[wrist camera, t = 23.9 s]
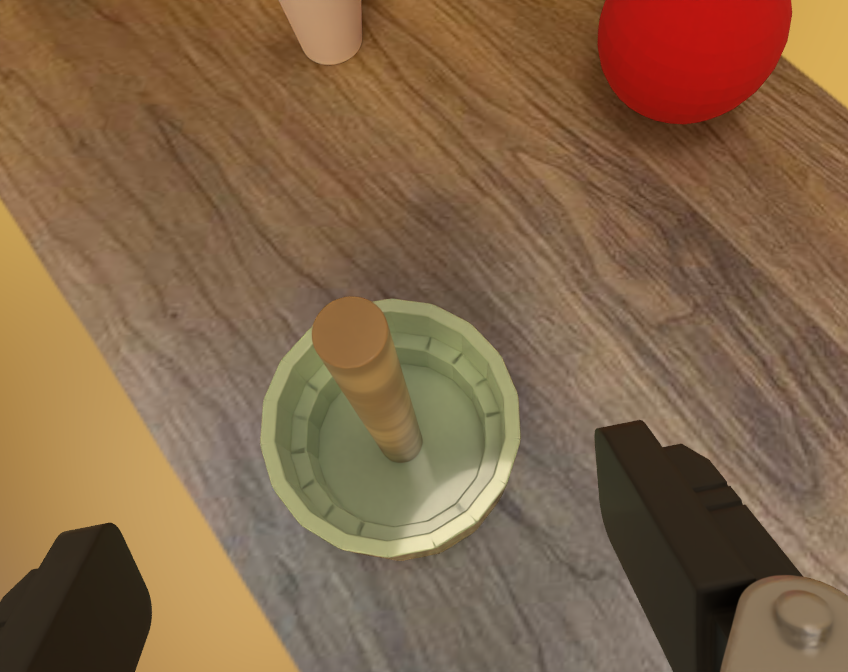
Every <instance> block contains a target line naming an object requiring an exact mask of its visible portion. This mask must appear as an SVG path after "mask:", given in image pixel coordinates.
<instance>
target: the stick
mask: <svg viewBox="0 0 848 672" xmlns="http://www.w3.org/2000/svg"><path fill="white" fill-rule="evenodd" d="M312 342H313V346H314V348H315V350H316V352H317V354H318V355H319V357H320V358H321V360H322V361H323V363H324V364H325V366H326V368H327V369H328V371H329V372H330V374H331V375H332V377H333V378H334V380H335V381H336V383H337V384H338V386H339V387H340V389H341V390H342V392H343V393H344V395H345V396H346V398H347V399H348V401H349V402H350V404H351V405H352V407H353V409H354V410H355V412H356V413H357V415H358V416H359V418H360V419H361V421H362V422H363V424H364V425H365V427H366V428H367V430H368V431H369V433H370V434H371V436H372V437H373V439H374V440H375V442H376V443H377V445H378V446H379V448H380V450H381V451H382V453H383V454H384V455H385V456H386V457H387V458H388V459H389V460H391V461H393V462H397V463H404V462H408V461H410V460H412V459H414V458H415V457H416V456H417V455H418V453H419V452H420V450H421V447H422V441H423V440H422V434H421V431H420V428H419V425H418V421H417V418H416V415H415V411H414V408H413V405H412V402H411V398H410V395H409V392H408V388H407V385H406V382H405V379H404V375H403V372H402V369H401V366H400V362H399V359H398V356H397V352H396V349H395V346H394V343H393V339H392V336H391V333H390V329H389V326H388V323H387V320H386V317H385V315H384V313H383V312H382V311H381V309H380V308H379V307H378V306H377V305H376V304H374V303H373V302H371V301H369V300H367V299H365V298H361V297H343V298H339V299H337V300H334V301H332V302H331V303H329V304H328V305H326V306H325V307H324V308H323V309H322V310H321V311H320V312H319V314H318V315H317V317H316V319H315V321H314V324H313V327H312Z"/></svg>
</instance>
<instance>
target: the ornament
mask: <svg viewBox="0 0 848 672" xmlns="http://www.w3.org/2000/svg"><path fill="white" fill-rule="evenodd" d="M791 17H792V6H791V0H606V1H605V3H604V6H603V9H602V13H601V16H600V19H599V29H598V51H599V57H600V62H601V67H602V70H603V73H604V75H605V77H606V79H607V81H608V83H609V85H610V86H611V88H612V90H613V91H614V92H615V94H616V95H617V96H618V98H619V99H620V100H621V101H622V102H624V103H625V104H626V105H627V106H628V107H629V108H631V109H632V110H634V111H636V112H637V113H639V114H641V115H643V116H645V117H648V118H650V119H653V120H656V121H661V122H665V123H673V124H689V123H698V122H702V121H705V120H709V119H712V118H715V117H717V116H720V115H722V114H724V113H726V112H728V111H730V110H732V109H734V108H736V107H737V106H738V105H739V104H741V103H742V102H743V101H745V100H746V99H747V98H749V97H750V96H751V95H752V94H754V93H755V92H756V91H757V90H758V89H759V88H760V86H761V85H762V84H763V83H764V82H765V80H766V79H767V78H768V77H769V75H770V74H771V73H772V71H773V70H774V69H775V67H776V65H777V63H778V61H779V59H780V56H781V54H782V52H783V50H784V47H785V45H786V43H787V39H788V34H789V29H790V23H791Z"/></svg>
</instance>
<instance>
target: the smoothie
mask: <svg viewBox="0 0 848 672" xmlns="http://www.w3.org/2000/svg"><path fill="white" fill-rule="evenodd" d="M279 2H280V4H281V6H282V8H283V10H284V12H285V14H286V16H287V18H288V20H289V22H290V25H291V27H292V29H293V31H294V33H295V35H296V37H297V39H298V41H299V43H300V45H301V47H302V49H303V51H304V53H305V54H306V56H307V57H308V58H310V59H311V60H312V61H314V62H317V63H320V64H325V65H333V64H338V63H342V62H344V61H346V60H348V59H350V58H351V57H353V56H354V55H355V54H356V53H357V51H358V50H359V48H360V46H361V43H362V11H361V0H279Z"/></svg>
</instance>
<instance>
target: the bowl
mask: <svg viewBox="0 0 848 672" xmlns="http://www.w3.org/2000/svg"><path fill="white" fill-rule="evenodd" d="M373 303H374V304H376V305H377V306H378V307H379V308H380V309H381V311H382V312H383V313H384V315H385V317H386V320H387V323H388V326H389V329H390V333H391V336H392V339H393V343H394V346H395V349H396V352H397V356H398V359H399V362H400V366H401V369H402V372H403V375H404V379H405V382H406V385H407V388H408V392H409V395H410V398H411V402H412V405H413V408H414V411H415V415H416V418H417V421H418V425H419V428H420V431H421V434H422V440H423V441H422V447H421V450H420V452H419V453H418V455H417V456H416V457H415V458H414V459H412V460H410V461H408V462H404V463H397V462H393V461H391V460H389V459H388V458H387V457H386V456H385V455H384V454H383V453H382V451H381V450H380V448H379V446H378V445H377V443H376V442H375V440H374V439H373V437H372V436H371V434H370V433H369V431H368V430H367V428H366V427H365V425H364V424H363V422H362V421H361V419H360V418H359V416H358V415H357V413H356V412H355V410H354V409H353V407H352V405H351V404H350V402H349V401H348V399H347V398H346V396H345V395H344V393H343V392H342V390H341V389H340V387H339V386H338V384H337V383H336V381H335V380H334V378H333V377H332V375H331V374H330V372H329V371H328V369H327V368H326V366H325V364H324V363H323V361H322V360H321V358H320V357H319V355H318V354H317V352H316V350H315V348H314V346H313V342H312V327H313V326H312V327H311V328H310V329H309V330H308V331H307V332H306V333H305V334H304V335H303V336H302V338H301V339H300V340H299V341H298V342H297V343H296V344H295V345H294V346H293V347H292V348H291V350H290V351H289V352H288V353H287V354H286V355H285V356H284V357H283V358H282V360H281V361H280V363H279V366H278V368H277V370H276V373H275V375H274V377H273V379H272V382H271V384H270V386H269V388H268V391H267V393H266V395H265V398H264V401H263V411H262V425H261V438H260V444H261V450H262V453H263V457H264V460H265V464H266V467H267V471H268V474H269V478H270V481H271V485H272V487H273V489H274V491H275V492H276V494H277V495H278V496H279V497H280V499H281V500H282V501H283V503H284V504H285V505H286V507H287V508H288V509H289V511H290V512H291V513H292V515H293V516H294V517H295V519H296V520H297V521H298V523H299V524H301V526H303V527H304V528H306V529H308V530H309V531H311V532H313V533H314V534H316V535H317V536H319V537H321V538H322V539H324V540H326V541H327V542H329V543H330V544H332V545H334V546H335V547H337V548H339V549H342V550H345V551H349V552H354V553H358V554H362V555H368V556H373V557H379V558H385V559H390V560H396V561H404V560H410V559H415V558H420V557H425V556H430V555H435V554H440V552H444V551H445V550H447V549H448V548H450V547H452V546H453V545H455V544H456V543H458V542H460V541H461V540H463V539H465V538H466V537H468V536H469V535H471V534H473V533H474V532H475V531H476V530H477V529H478V528H479V527H480V525H481V524H482V523H483V521H484V520H485V519H486V517H487V516H488V515H489V514H490V512H491V511H492V510H493V508H494V507H495V506H496V504H497V503H498V502H499V500H500V498H501V497H502V494H503V492H504V490H505V487H506V485H507V483H508V480H509V476H510V473H511V470H512V467H513V463H514V460H515V457H516V454H517V451H518V447H519V444H520V439H521V435H520V417H519V399H518V393H517V391H516V388H515V386H514V384H513V382H512V379H511V377H510V375H509V372H508V370H507V368H506V365H505V363H504V361H503V359H502V356H501V355H500V353H499V352H498V351H497V350H496V349H495V348H494V347H493V346H492V345H491V344H490V343H489V342H488V341H487V340H486V339H485V338H484V336H483V335H482V334H481V333H480V332H479V331H478V330H477V329H476V328H475V327H474V326H473V325H472V324H470V323H469V322H467V321H465V320H463V319H461V318H459V317H457V316H455V315H453V314H451V313H449V312H447V311H445V310H443V309H441V308H440V307H438V306H436V305H432V304H429V303H421V302H414V301H406V300H399V299H385V300H380V301H374V302H373Z"/></svg>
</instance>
